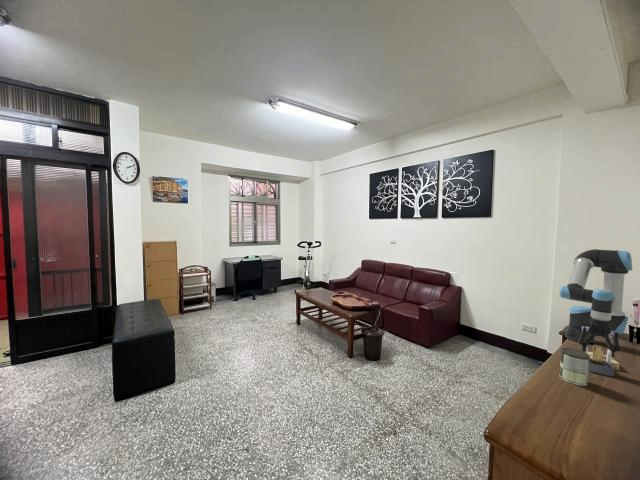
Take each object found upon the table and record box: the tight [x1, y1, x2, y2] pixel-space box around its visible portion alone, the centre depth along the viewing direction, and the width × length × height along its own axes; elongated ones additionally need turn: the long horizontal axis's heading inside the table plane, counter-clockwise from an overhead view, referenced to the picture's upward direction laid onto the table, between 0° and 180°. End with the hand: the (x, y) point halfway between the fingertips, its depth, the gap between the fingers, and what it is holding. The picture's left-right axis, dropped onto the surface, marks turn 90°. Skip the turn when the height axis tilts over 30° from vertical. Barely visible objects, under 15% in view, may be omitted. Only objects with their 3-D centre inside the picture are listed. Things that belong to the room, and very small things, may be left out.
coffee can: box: [558, 347, 590, 387], centre depth 130 cm, size 10×10×14 cm
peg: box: [592, 344, 604, 365], centre depth 141 cm, size 4×4×13 cm
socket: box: [588, 358, 615, 378], centre depth 142 cm, size 10×10×4 cm
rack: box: [588, 350, 621, 371], centre depth 149 cm, size 12×10×4 cm
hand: (596, 360), depth 141 cm, fingers open, 8 cm apart
